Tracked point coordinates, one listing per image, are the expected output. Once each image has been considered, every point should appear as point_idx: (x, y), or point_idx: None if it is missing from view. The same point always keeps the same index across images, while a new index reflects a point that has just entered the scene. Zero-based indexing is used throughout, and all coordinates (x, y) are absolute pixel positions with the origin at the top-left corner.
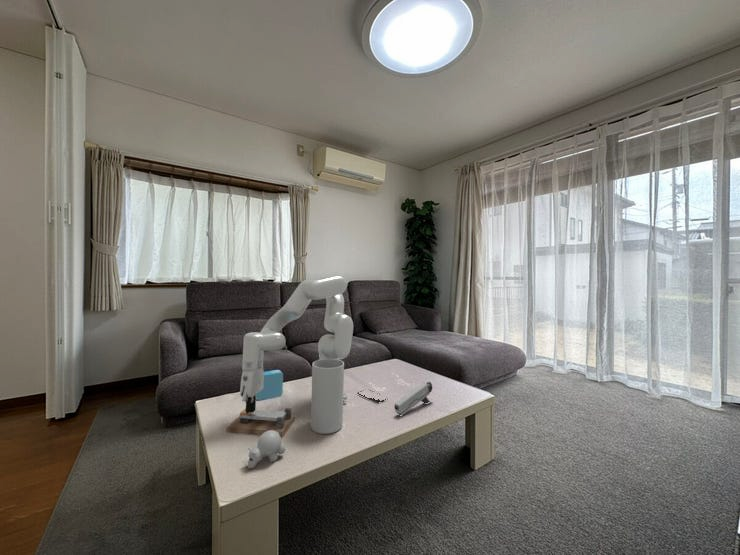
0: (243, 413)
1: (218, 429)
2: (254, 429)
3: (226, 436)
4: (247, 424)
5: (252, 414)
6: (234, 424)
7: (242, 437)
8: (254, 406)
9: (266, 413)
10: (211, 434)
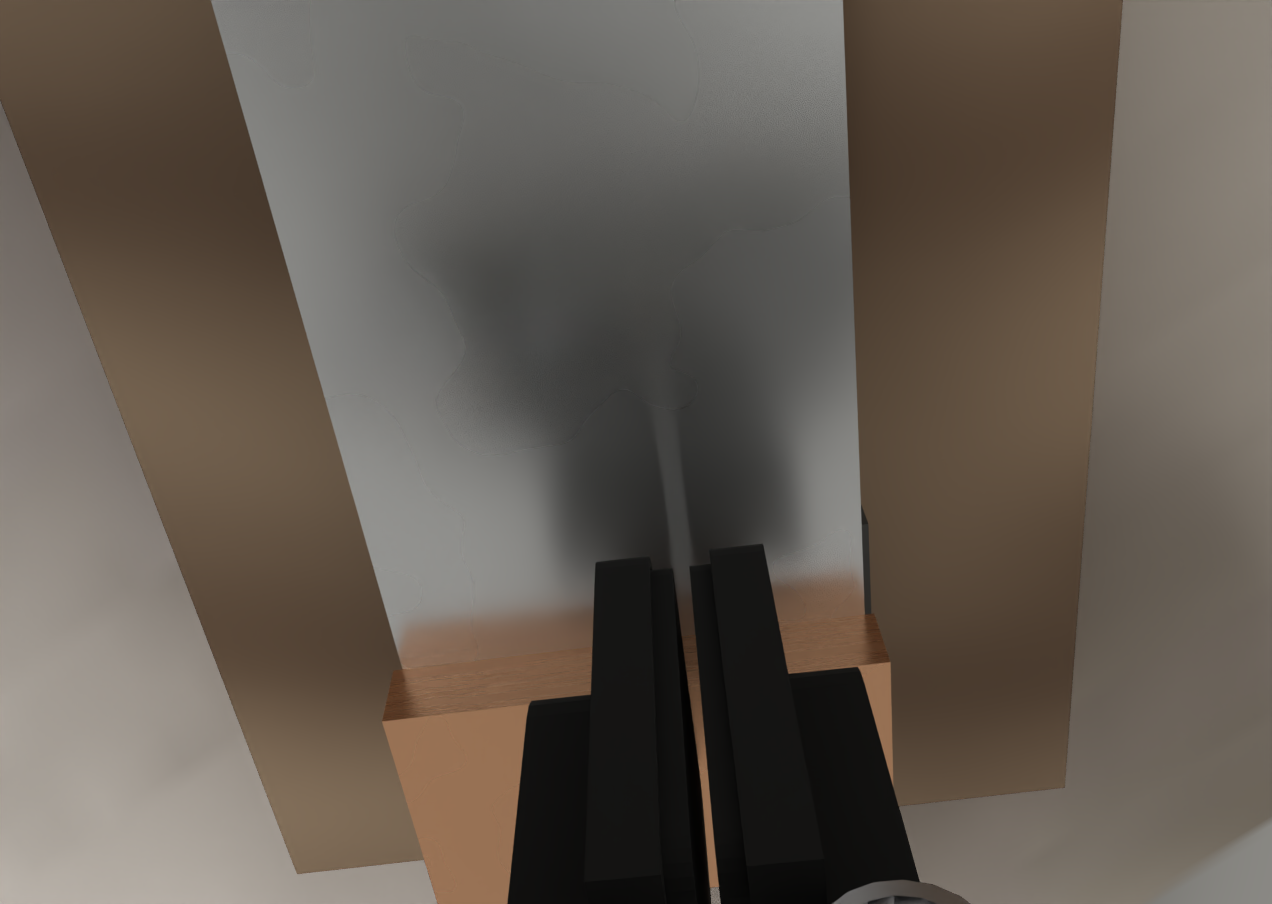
0: (889, 770)
1: (940, 875)
2: (1115, 41)
3: (1182, 599)
4: (873, 427)
5: (754, 511)
6: (932, 709)
7: (1206, 245)
8: (666, 683)
9: (517, 20)
10: (1128, 867)
